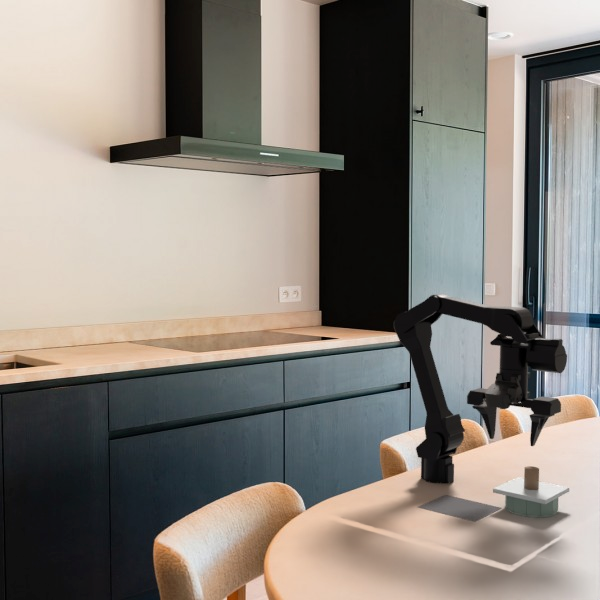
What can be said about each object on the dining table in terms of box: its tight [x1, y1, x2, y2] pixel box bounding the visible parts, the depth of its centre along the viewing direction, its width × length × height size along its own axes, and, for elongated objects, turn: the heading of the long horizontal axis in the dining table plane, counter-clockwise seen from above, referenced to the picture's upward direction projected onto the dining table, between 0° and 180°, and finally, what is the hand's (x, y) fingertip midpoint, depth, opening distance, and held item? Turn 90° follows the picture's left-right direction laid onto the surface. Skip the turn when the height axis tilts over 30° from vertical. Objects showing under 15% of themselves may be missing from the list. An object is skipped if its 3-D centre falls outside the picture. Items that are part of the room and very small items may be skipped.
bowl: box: [504, 495, 559, 518], centre depth 164 cm, size 10×10×4 cm
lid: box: [492, 466, 570, 504], centre depth 164 cm, size 11×11×5 cm
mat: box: [417, 494, 503, 523], centre depth 165 cm, size 13×11×1 cm
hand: (511, 442), depth 172 cm, fingers open, 9 cm apart
